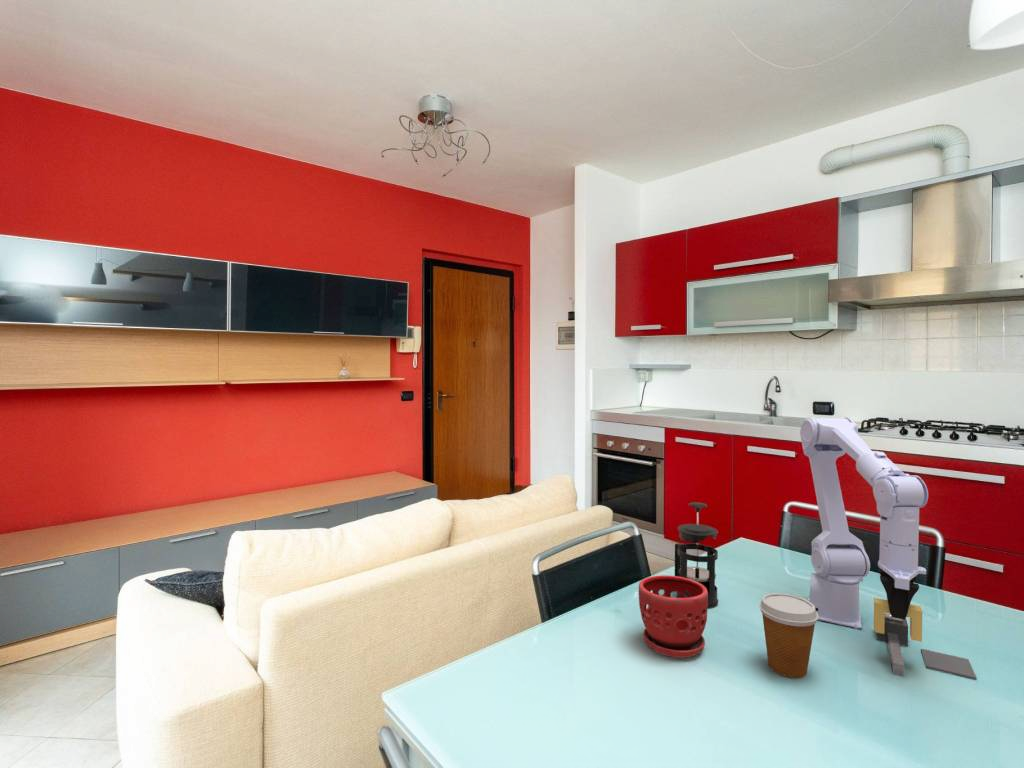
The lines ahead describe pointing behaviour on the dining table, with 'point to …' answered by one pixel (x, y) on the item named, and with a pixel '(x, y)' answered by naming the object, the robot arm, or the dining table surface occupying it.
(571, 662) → the dining table surface
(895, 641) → the grey block with bar
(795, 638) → the disposable coffee cup
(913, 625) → the yellow pull handle
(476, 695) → the dining table surface
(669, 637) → the plant pot
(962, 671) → the rubber mat
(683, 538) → the french press
